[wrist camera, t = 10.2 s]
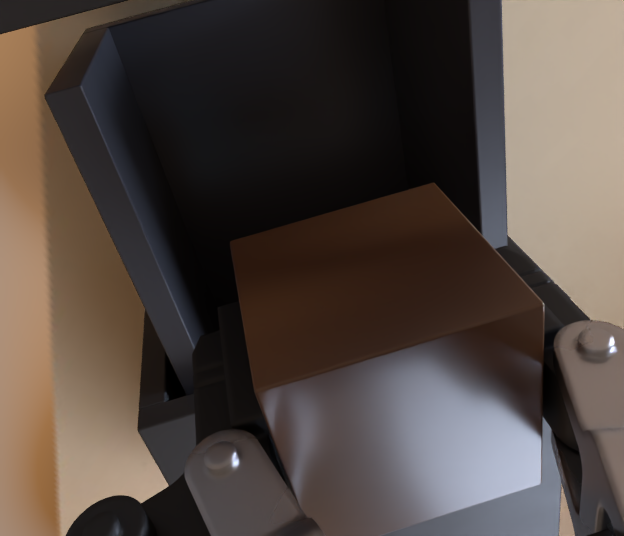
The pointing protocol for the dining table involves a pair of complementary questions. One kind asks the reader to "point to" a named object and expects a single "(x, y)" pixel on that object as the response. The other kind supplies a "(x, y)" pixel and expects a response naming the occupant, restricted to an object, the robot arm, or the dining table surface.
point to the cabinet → (436, 532)
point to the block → (393, 362)
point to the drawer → (270, 128)
